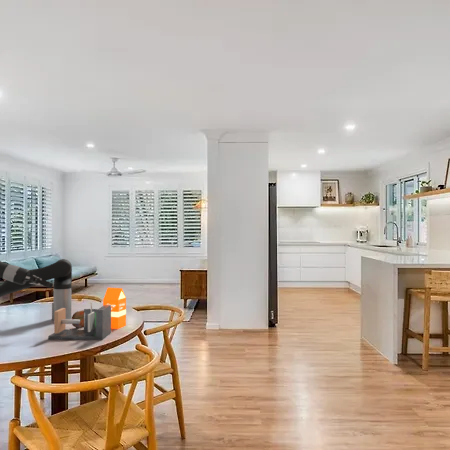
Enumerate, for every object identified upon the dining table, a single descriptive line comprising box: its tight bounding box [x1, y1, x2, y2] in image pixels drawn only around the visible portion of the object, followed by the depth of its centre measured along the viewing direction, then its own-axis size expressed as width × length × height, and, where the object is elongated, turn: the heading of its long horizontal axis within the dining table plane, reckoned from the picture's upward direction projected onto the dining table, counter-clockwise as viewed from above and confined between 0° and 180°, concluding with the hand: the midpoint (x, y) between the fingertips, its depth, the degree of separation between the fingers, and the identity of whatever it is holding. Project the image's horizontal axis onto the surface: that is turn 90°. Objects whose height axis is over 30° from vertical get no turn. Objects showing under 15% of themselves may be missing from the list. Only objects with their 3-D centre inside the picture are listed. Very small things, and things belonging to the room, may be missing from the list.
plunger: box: [53, 308, 80, 333], centre depth 183 cm, size 10×8×10 cm
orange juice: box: [102, 287, 127, 330], centre depth 202 cm, size 8×9×20 cm
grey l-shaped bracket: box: [47, 305, 112, 341], centre depth 184 cm, size 25×12×14 cm, turn 88°
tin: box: [71, 309, 84, 329], centre depth 203 cm, size 15×3×8 cm, turn 148°
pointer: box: [88, 302, 95, 332], centre depth 183 cm, size 1×6×13 cm, turn 178°
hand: (50, 285), depth 187 cm, fingers open, 8 cm apart
